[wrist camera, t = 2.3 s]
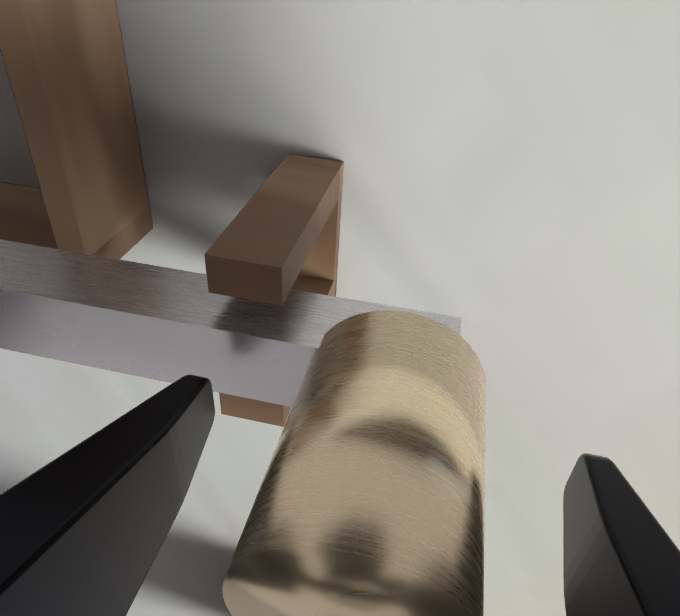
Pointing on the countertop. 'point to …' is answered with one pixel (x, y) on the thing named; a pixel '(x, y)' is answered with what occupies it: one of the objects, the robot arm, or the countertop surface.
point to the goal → (73, 129)
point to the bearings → (280, 251)
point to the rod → (298, 424)
